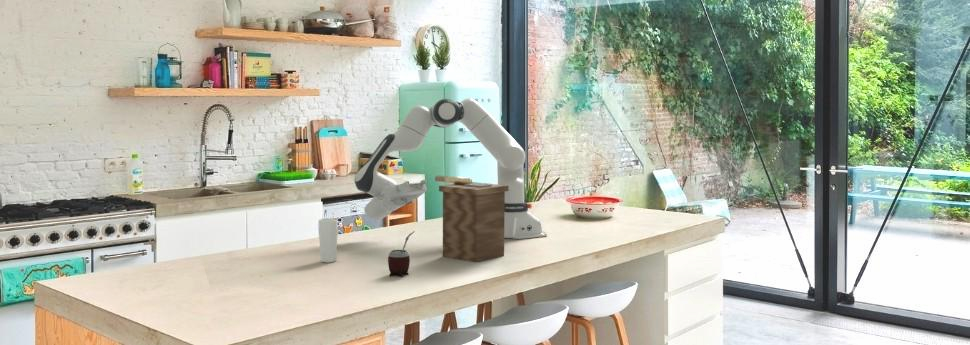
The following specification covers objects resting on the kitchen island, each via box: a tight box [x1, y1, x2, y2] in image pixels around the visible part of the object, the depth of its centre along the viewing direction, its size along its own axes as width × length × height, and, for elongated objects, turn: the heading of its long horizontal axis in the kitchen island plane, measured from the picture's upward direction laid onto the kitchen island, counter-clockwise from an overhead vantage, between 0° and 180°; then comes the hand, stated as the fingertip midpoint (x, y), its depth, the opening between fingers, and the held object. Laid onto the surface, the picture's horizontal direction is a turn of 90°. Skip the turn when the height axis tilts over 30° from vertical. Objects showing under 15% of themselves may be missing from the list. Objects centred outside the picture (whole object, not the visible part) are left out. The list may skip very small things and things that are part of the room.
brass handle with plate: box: [434, 174, 492, 188], centre depth 322 cm, size 24×6×3 cm, turn 51°
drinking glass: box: [317, 217, 339, 264], centre depth 308 cm, size 7×7×15 cm
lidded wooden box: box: [438, 181, 509, 263], centre depth 319 cm, size 18×18×26 cm
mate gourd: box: [387, 230, 416, 278], centre depth 286 cm, size 8×8×15 cm
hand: (416, 182), depth 336 cm, fingers open, 8 cm apart
